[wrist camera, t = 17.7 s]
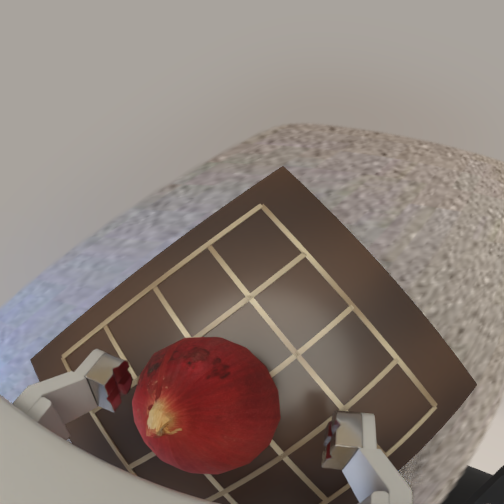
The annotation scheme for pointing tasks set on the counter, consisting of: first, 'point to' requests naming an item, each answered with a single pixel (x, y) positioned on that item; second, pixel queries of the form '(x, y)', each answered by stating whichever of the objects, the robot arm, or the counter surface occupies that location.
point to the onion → (206, 405)
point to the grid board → (272, 344)
